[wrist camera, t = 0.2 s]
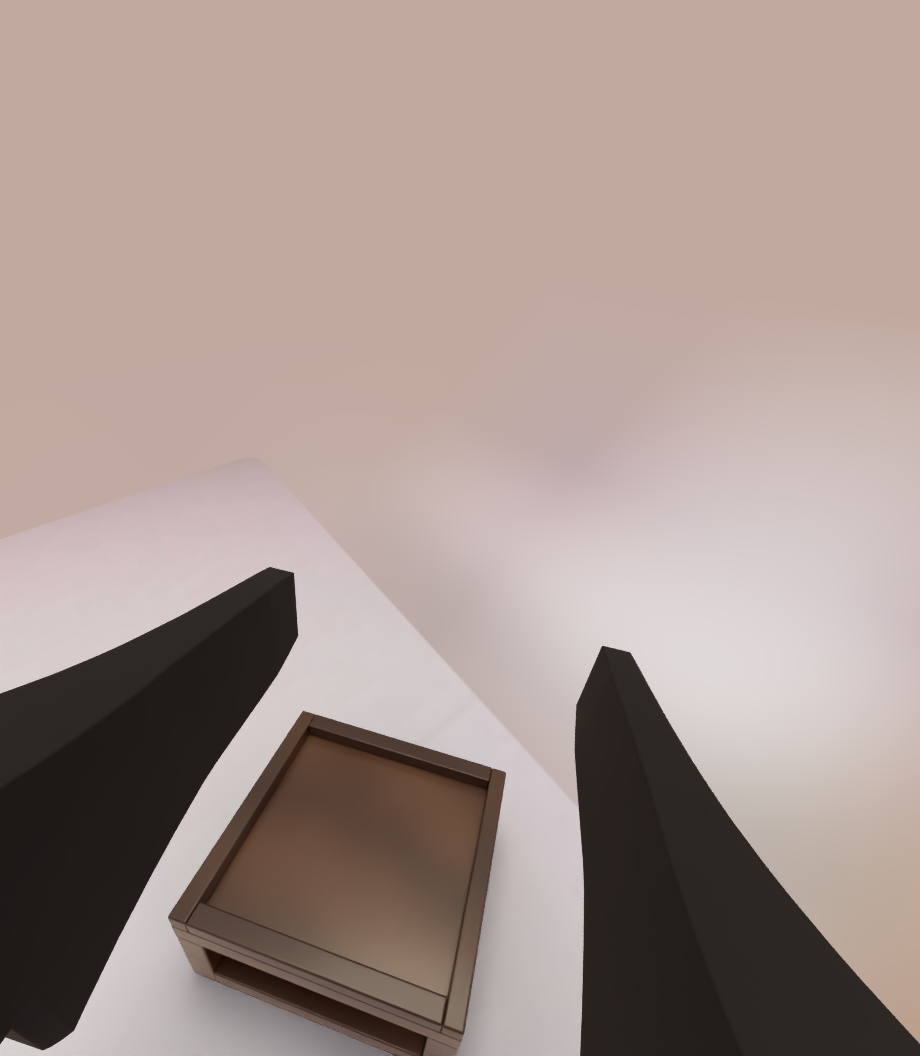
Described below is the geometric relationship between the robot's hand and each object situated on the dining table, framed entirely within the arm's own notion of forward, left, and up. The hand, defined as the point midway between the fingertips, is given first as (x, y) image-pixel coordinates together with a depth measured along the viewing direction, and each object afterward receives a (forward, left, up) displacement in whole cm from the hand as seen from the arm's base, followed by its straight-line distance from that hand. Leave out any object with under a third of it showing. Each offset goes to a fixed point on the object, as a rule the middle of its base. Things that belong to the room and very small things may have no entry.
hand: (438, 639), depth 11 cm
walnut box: (+3, +3, -21) cm, 22 cm away
